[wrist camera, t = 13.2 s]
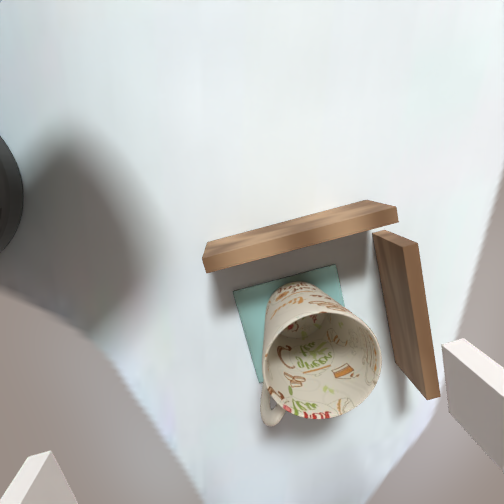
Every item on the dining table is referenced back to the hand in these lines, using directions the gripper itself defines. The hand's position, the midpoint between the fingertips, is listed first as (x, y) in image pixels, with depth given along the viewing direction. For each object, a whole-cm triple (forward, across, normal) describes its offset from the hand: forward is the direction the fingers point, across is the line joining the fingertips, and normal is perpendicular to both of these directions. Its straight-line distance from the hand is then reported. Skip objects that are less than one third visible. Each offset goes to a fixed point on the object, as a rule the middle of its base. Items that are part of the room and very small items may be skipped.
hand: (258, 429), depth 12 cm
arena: (+21, +6, -7) cm, 23 cm away
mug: (+21, +3, -8) cm, 23 cm away
